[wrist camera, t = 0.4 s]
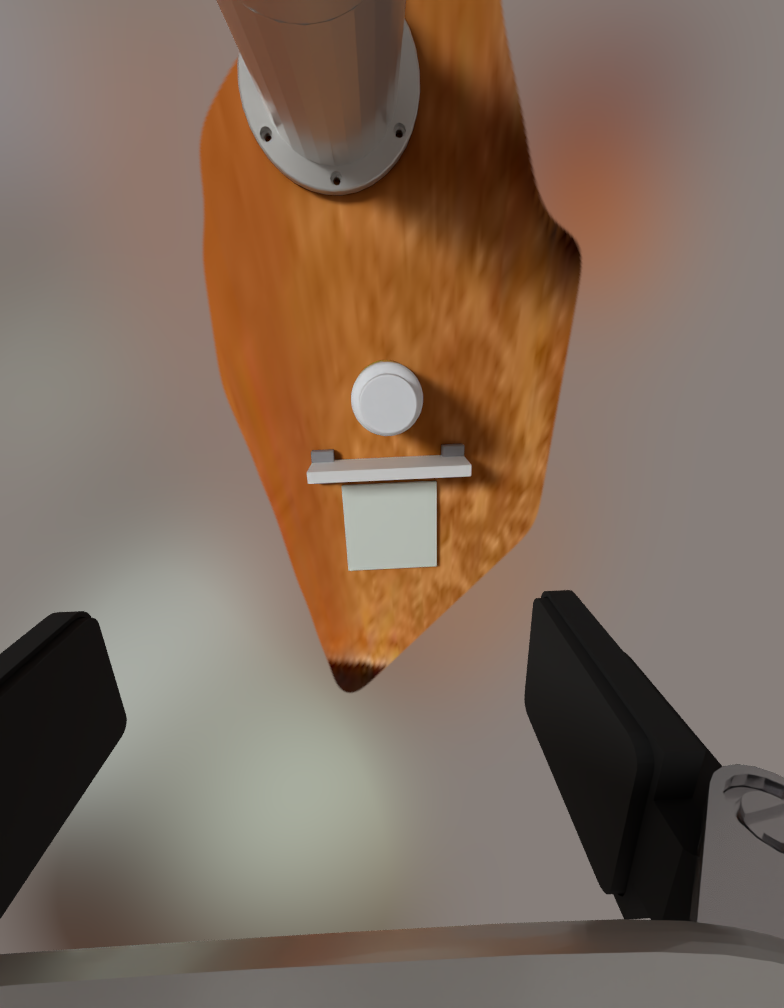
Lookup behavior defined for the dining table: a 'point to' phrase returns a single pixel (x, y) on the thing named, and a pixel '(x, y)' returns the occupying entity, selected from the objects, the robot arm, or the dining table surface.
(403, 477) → the low wall
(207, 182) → the dining table surface
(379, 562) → the mat
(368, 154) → the robot arm
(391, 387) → the supplement bottle
